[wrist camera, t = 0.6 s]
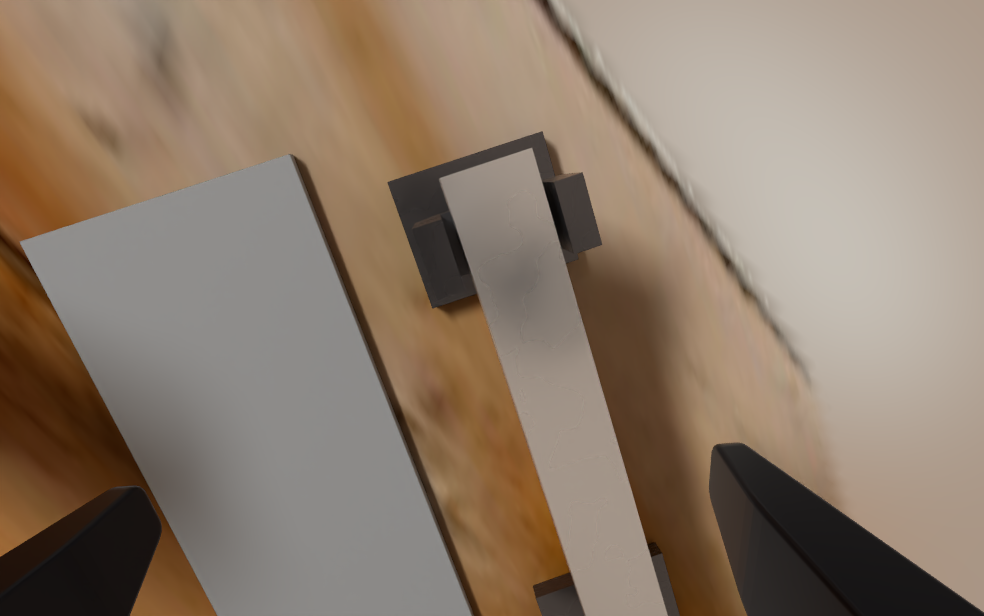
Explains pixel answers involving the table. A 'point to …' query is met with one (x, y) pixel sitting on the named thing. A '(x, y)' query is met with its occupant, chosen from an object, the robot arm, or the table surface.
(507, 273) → the rail
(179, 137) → the table surface
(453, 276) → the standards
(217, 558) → the mat
